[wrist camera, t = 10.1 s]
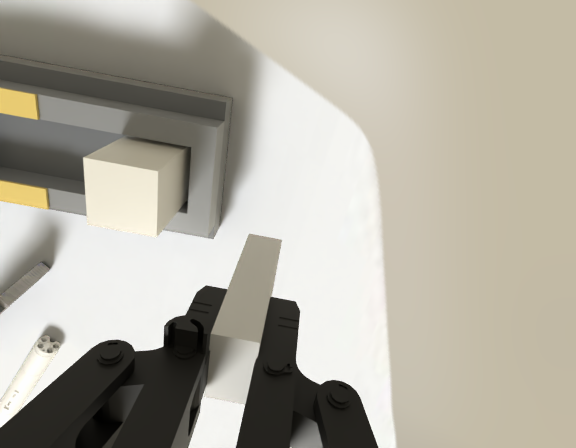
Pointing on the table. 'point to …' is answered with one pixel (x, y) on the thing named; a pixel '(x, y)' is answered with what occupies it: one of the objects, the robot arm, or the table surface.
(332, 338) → the table surface
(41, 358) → the marker
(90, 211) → the tab
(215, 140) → the switch board
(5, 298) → the caliper
